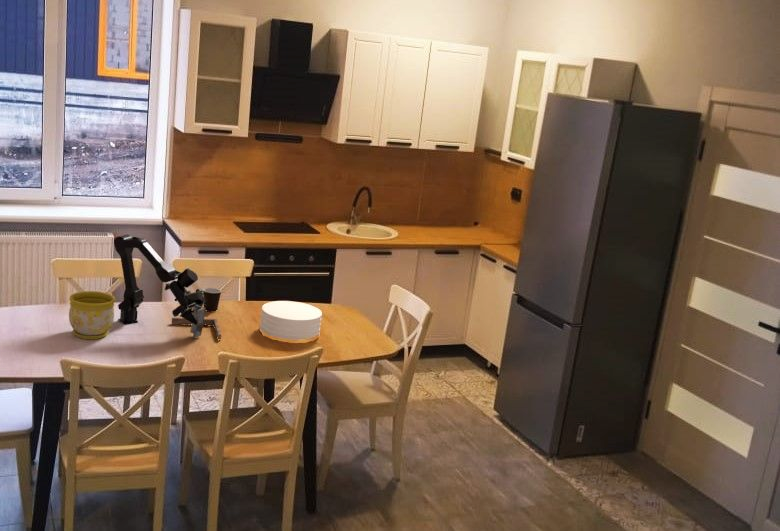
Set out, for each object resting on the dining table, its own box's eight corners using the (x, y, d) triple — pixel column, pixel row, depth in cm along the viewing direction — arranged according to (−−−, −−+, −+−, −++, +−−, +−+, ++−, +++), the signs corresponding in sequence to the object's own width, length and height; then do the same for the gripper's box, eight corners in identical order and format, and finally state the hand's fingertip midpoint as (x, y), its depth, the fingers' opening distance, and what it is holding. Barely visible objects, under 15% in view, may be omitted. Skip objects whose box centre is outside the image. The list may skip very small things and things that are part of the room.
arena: (220, 340, 350) (221, 334, 350) (173, 339, 344) (174, 333, 343) (216, 325, 369) (216, 319, 368) (171, 323, 363) (172, 317, 362)
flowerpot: (59, 337, 329) (60, 299, 325) (81, 324, 346) (83, 288, 342) (100, 344, 327) (102, 306, 323) (120, 331, 344) (123, 295, 340)
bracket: (194, 338, 346) (199, 310, 343) (185, 334, 347) (189, 307, 344) (201, 335, 351) (205, 308, 347) (191, 331, 352) (196, 304, 348)
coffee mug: (217, 313, 385) (219, 294, 383) (199, 311, 385) (201, 291, 383) (222, 306, 397) (224, 287, 394) (205, 304, 397) (207, 285, 394)
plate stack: (247, 331, 367) (249, 308, 364) (282, 319, 391) (285, 297, 389) (297, 348, 355) (300, 324, 352) (330, 334, 380) (333, 311, 377)
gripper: (180, 287, 335) (200, 318, 335) (204, 279, 353) (223, 308, 352) (163, 301, 340) (183, 331, 339) (187, 292, 357) (206, 321, 356)
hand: (200, 322), depth 347 cm, fingers closed on bracket, 5 cm apart
